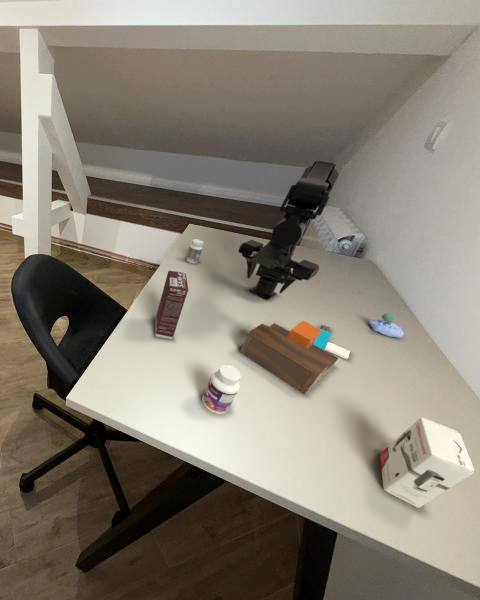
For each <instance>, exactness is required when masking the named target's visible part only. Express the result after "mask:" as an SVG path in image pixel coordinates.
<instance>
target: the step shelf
mask: <svg viewBox="0 0 480 600" xmlns="http://www.w3.org/2000/svg"><path fill="white" fill-rule="evenodd" d="M290 331H291V330H289V329H288V330H287V329H286V328H284V327H282V326H280V324H279V325H278V323H272V324H270V325H269V326H267V325H266V324H264V323H260V324H259V325H258V326H256V327H254V328H252V329H250V330H249V332H248V335H247V336H246V338H245V340H244V342H243V344H242V347H241V349H240V350H239V353H240V354H242V355H243V356H245V357H247V358H248V359H250V360H252V361H253V362H254V363H256V364H257V365H259V366H261V367H262V368H264V369H265V370H267V372H270V374H273V375H274V376H276V377H277V378H279V379H280V380H282V381H284V382H285V383H287V384H288V385H290V386H291V387H293V388H294V389H295V390H297V391H299V392H300V393H302V394H304V395H306V394H307V393H308V392H309V391H310V390H311V389H312V388H313V387H314V386H315V385H316V384H317V383H318V382H319V381H320V380H321V379H322V378H323V377H324V376H325V375H326V374H327V372H329V371H330V370H331V368H333V366H334V365H335V363H336V362H337V361H338V360H339V357H338V356H337V355H335V354H333V353H331V352H329V351H327V350H323V349H321V348H319V347H317V346H315V345H314V344H313V345H312V346H311V347H310V348H309V349H307V348H305V347H303V346H302V345H300V344H298V343H296V342H294V341H293V340H291V339H289V338H287V336H288V334H289V333H290Z"/></svg>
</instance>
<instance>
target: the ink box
mask: <svg viewBox="0 0 480 600" xmlns="http://www.w3.org/2000/svg"><path fill="white" fill-rule="evenodd" d="M379 463H380V470H381V478H382V485H383V486H382V487H383V491H385V492H387V493H388V494H390V495H392V496H394V497H396V498H397V499H400V500H402V501H403V502H406V503H407V504H409V505H410V506H411V505H412V506H413V507H415V508H418V509H419V508H422V507H423V506H424V505H425V504H427V503H429V502H430V501H432V500H433V499H435V498H436V497H438V496H440V495H442V494H443V493H444V492H446V491H447V490H449V489H451V488H453V487H454V486H456V485H457V484H459V483H461V482H462V481H464V480H465V479H466V478H468V477H470V476H471V475H473V474H474V471H475V468H474V466H473V463H472V460H471V458H470V456H469V452H468V450H467V448H466V445H465V442H464V439H463V437H462V434H461V433H460V432H458V431H457V430H454V429H453V428H450V427H448V426H446V425H443V424H440V423H438V422H436V421H433V420H430V419H428V418H425V417H422V416H421V417H419V419H417V420H416V421H415V422H414V423H413V424H412V425H411V426H410V427H408V428H407V429H406V430H405V431H404V432H403V433H401V434H400V435H399V436H398V437H396V439H394V440H393V441H392V442H391V443H390V444H388V446H386V447H385V448H384V449H383V450H382V451H380V452H379Z"/></svg>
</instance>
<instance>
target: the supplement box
mask: <svg viewBox="0 0 480 600" xmlns="http://www.w3.org/2000/svg"><path fill="white" fill-rule="evenodd" d="M188 293H189V284H188V278H187V273H185V272H182V271H181V272H180V271H174V270H168V271H167V275H166V277H165V281H164V285H163V289H162V293H161V295H160V296H161V297H160V300H159V304H158V308H157V312H156V315H155V321H154V323H155V329H154V336H155V337H158V338H163V339H167V340H173V338H174V336H175V333H176V330H177V327H178V323H179V320H180V317H181V314H182V311H183V308H184V305H185V302H186V299H187V296H188Z"/></svg>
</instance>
